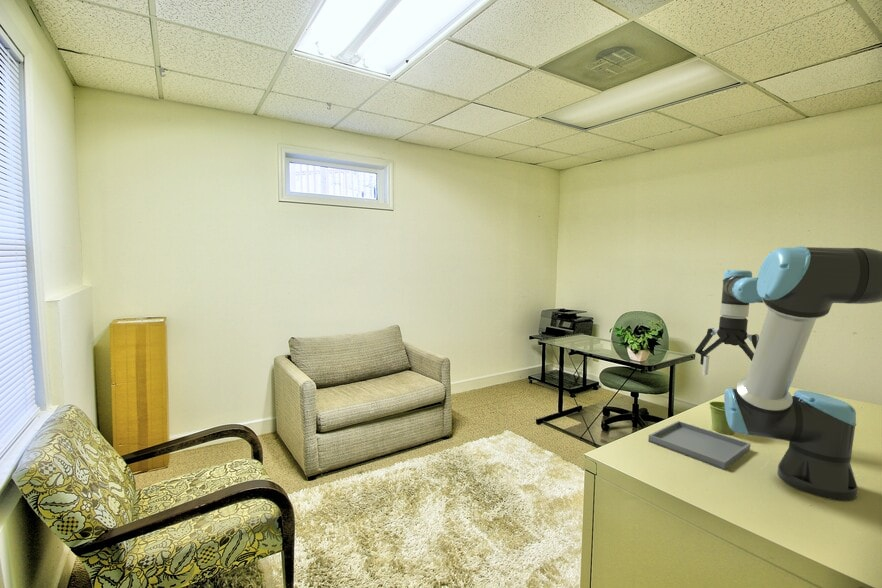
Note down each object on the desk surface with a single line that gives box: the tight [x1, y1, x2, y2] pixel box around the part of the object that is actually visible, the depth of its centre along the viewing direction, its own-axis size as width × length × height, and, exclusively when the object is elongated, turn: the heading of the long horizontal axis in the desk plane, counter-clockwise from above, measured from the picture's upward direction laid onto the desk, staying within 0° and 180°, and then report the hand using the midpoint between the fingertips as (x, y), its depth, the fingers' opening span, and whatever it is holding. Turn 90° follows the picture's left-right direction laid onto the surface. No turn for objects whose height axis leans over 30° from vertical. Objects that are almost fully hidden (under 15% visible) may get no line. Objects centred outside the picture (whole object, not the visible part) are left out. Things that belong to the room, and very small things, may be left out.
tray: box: [647, 420, 752, 471], centre depth 125 cm, size 21×21×2 cm
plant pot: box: [708, 400, 735, 435], centre depth 137 cm, size 9×9×9 cm
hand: (727, 379), depth 136 cm, fingers open, 13 cm apart
